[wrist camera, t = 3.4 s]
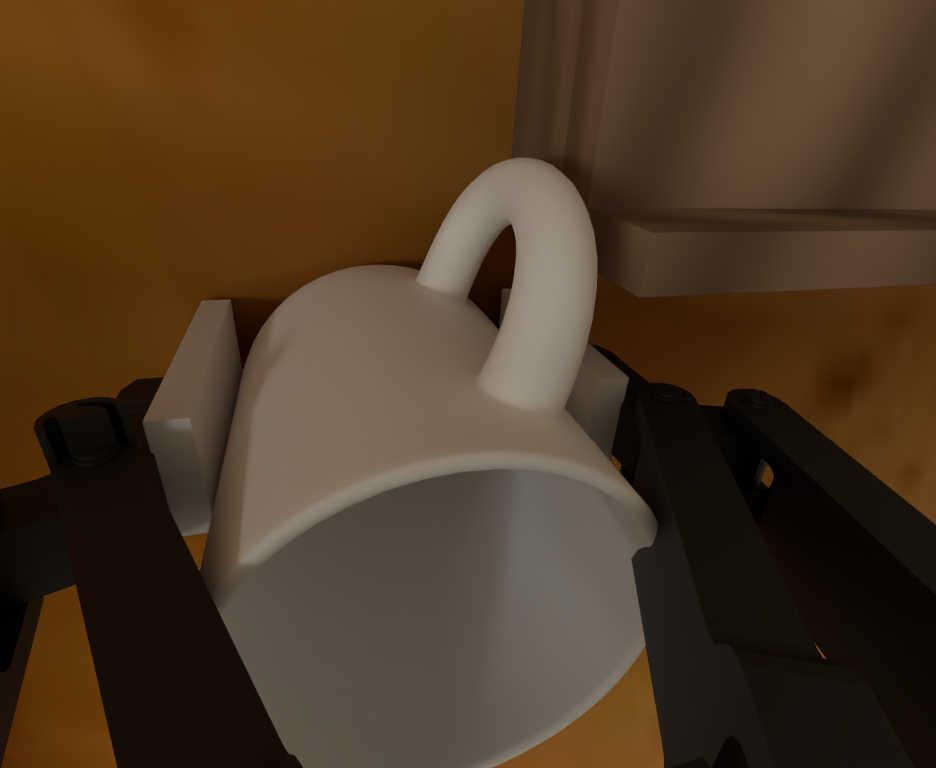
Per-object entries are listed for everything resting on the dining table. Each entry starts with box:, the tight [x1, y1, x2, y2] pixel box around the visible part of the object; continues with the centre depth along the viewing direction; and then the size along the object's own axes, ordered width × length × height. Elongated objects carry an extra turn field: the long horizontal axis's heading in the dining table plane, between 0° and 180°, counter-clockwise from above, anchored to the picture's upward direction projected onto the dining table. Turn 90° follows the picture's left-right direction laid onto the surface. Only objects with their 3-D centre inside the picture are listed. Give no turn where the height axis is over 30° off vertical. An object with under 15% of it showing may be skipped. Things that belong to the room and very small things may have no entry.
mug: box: [200, 158, 658, 768], centre depth 13 cm, size 12×8×10 cm
